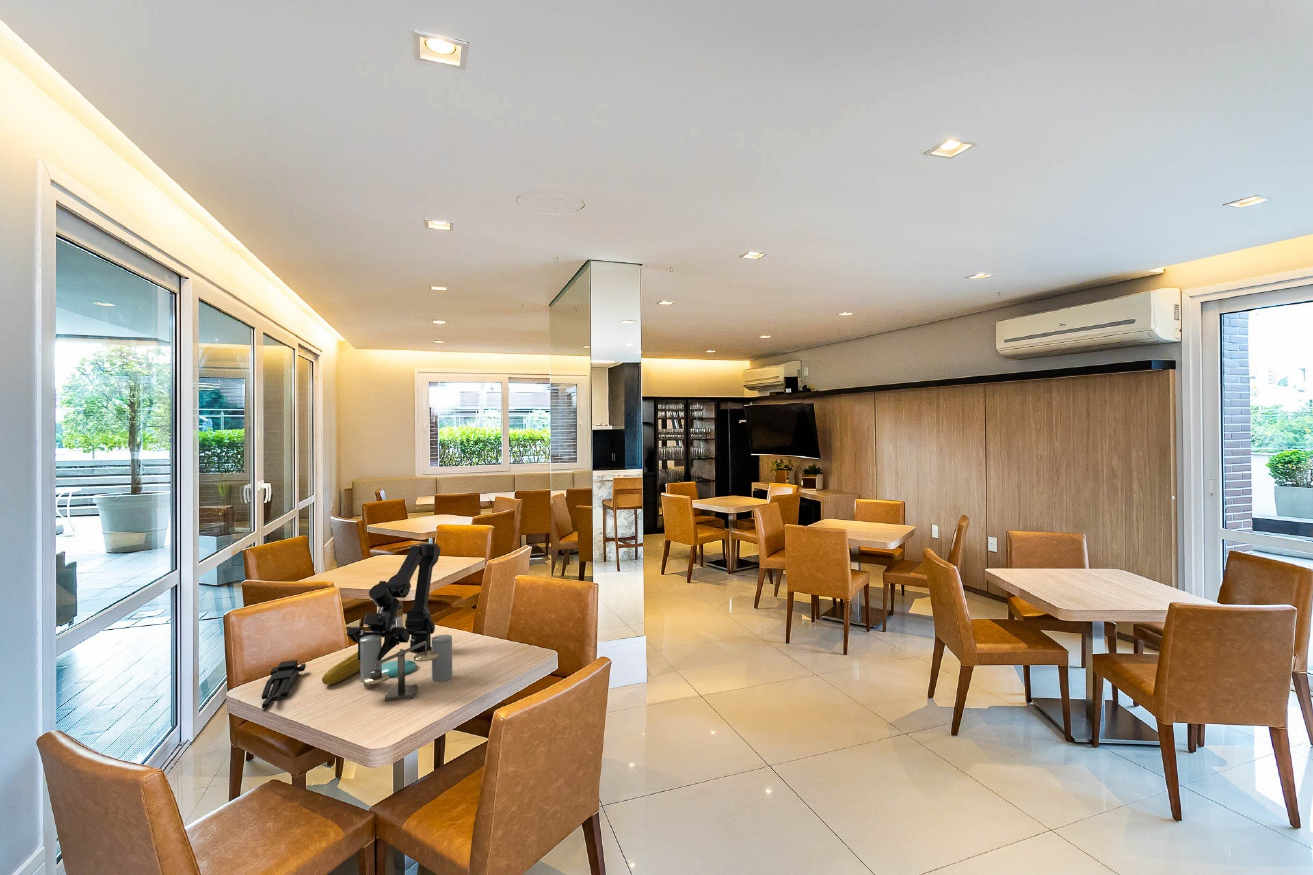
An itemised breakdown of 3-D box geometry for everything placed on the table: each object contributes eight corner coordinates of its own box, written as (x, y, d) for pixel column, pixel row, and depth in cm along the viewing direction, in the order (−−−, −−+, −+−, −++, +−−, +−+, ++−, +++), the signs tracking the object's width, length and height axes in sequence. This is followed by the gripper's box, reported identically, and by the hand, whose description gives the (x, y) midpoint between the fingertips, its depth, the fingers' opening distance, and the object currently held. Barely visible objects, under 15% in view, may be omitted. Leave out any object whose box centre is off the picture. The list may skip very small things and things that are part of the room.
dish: (399, 661, 208) (399, 657, 208) (424, 667, 202) (423, 663, 202) (365, 673, 197) (365, 669, 197) (389, 680, 190) (389, 676, 190)
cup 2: (443, 673, 196) (443, 633, 196) (456, 676, 193) (456, 636, 193) (427, 679, 191) (427, 638, 191) (440, 682, 187) (440, 641, 188)
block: (372, 683, 188) (372, 673, 189) (378, 685, 187) (378, 675, 187) (363, 686, 186) (363, 677, 186) (369, 688, 184) (369, 678, 184)
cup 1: (374, 674, 191) (373, 633, 191) (386, 677, 188) (385, 636, 188) (355, 680, 185) (355, 639, 186) (368, 684, 182) (367, 642, 183)
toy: (288, 710, 172) (305, 672, 200) (288, 694, 172) (305, 658, 200) (250, 716, 168) (272, 676, 196) (249, 700, 168) (272, 662, 196)
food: (357, 665, 206) (357, 647, 206) (373, 665, 205) (373, 648, 205) (317, 689, 185) (317, 669, 185) (334, 689, 184) (334, 670, 184)
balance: (439, 685, 185) (439, 636, 186) (436, 695, 178) (436, 644, 178) (366, 693, 180) (366, 642, 180) (360, 704, 172) (360, 651, 173)
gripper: (349, 601, 192) (328, 647, 180) (405, 601, 190) (387, 647, 179) (363, 619, 199) (344, 664, 188) (416, 619, 198) (400, 664, 187)
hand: (368, 659), depth 185 cm, fingers closed on cup 1, 6 cm apart
